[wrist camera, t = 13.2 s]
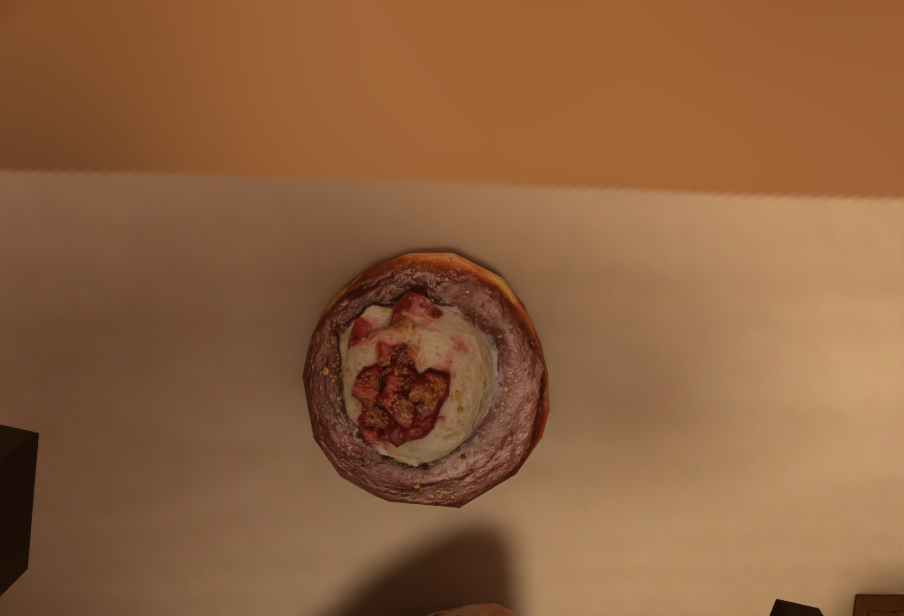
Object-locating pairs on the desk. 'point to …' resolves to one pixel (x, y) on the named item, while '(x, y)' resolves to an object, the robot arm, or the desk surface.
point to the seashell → (476, 610)
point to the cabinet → (879, 606)
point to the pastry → (426, 381)
